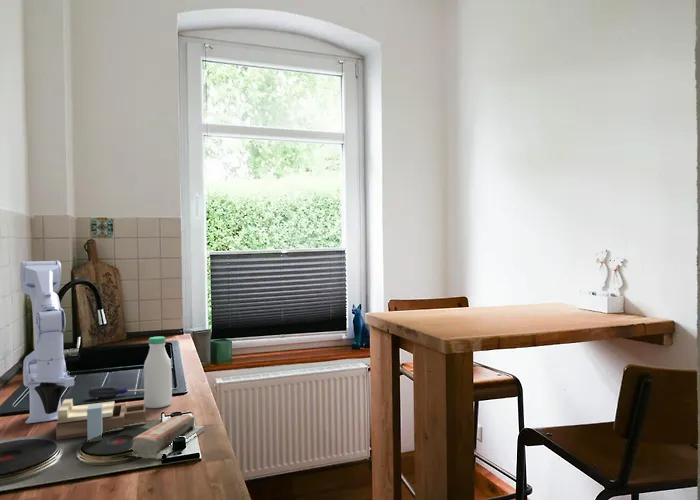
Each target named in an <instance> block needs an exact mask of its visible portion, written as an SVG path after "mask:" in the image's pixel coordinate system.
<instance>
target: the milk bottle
mask: <svg viewBox="0 0 700 500" xmlns="http://www.w3.org/2000/svg"><path fill="white" fill-rule="evenodd" d="M165 345H166V337H165V336H163V335H162V336H153V337H152V336H151V337H149V338H148V346H149V349H148V353H147V356H146V358H145V360H144V363H143V364H144V365H143V389H144V392H143V404H145V408H147V409H161V408H165V407H168V406H170V405H171V404H172V402H173V390H172V388H173V383H172V379H173V378H172V377H173V376H172V375H173V374H172V362H171V358H170V357H169V355H168V353H167V350H166V347H165Z"/></svg>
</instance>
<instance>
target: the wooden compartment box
mask: <svg viewBox="0 0 700 500" xmlns="http://www.w3.org/2000/svg"><path fill="white" fill-rule="evenodd" d="M140 422H145V423H146V407H145V404H144V403H142V404H141V403H140V404H133V405H126V403H121V404H115V406H114V411H113V415H112V416H111V417H103V418H102V425H103V432H105V431H109V430H112V429H117V428H124V429H125V427H124V425H129V424H134V423H140ZM55 435H56V436H55V438H56V440H57V441H58V440H65V439H71V438H72V439H73V438H78V437H85V436H86V437H88V436H87V420H80V421H72V422H64V423H58V422H57V423H56V426H55Z"/></svg>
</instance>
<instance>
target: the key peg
mask: <svg viewBox="0 0 700 500" xmlns="http://www.w3.org/2000/svg"><path fill="white" fill-rule="evenodd" d="M102 433H103V425H102V404H100V405H91V406H88V408H87V436H86V437H87V441H88V440H90V439H92V438H94V437H97V436H99V435H102ZM103 434H104V433H103Z"/></svg>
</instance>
